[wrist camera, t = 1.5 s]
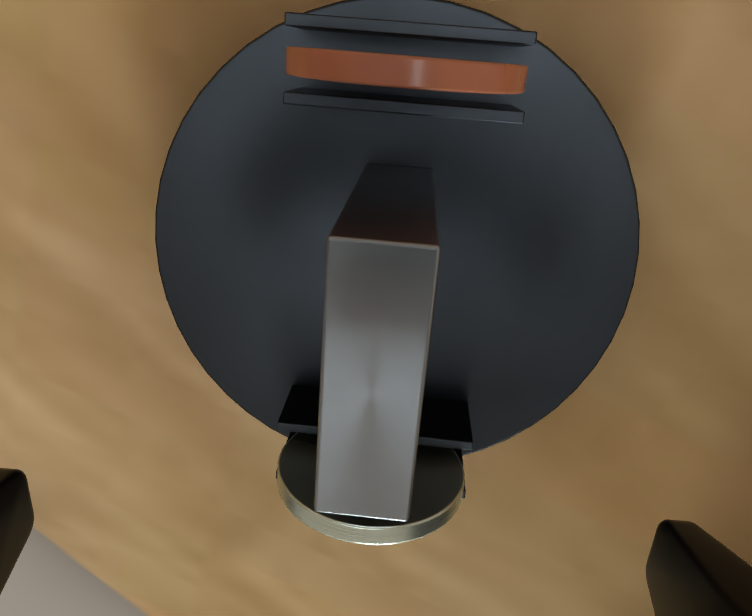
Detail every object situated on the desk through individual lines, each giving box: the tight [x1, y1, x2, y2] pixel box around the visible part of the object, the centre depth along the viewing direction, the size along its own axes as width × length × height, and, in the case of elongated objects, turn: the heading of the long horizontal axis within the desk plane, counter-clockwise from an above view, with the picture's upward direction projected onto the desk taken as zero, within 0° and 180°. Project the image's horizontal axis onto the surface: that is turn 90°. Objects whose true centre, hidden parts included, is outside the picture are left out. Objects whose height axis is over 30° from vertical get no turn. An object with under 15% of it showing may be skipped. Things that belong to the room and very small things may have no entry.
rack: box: [155, 0, 640, 545], centre depth 16 cm, size 15×15×9 cm
